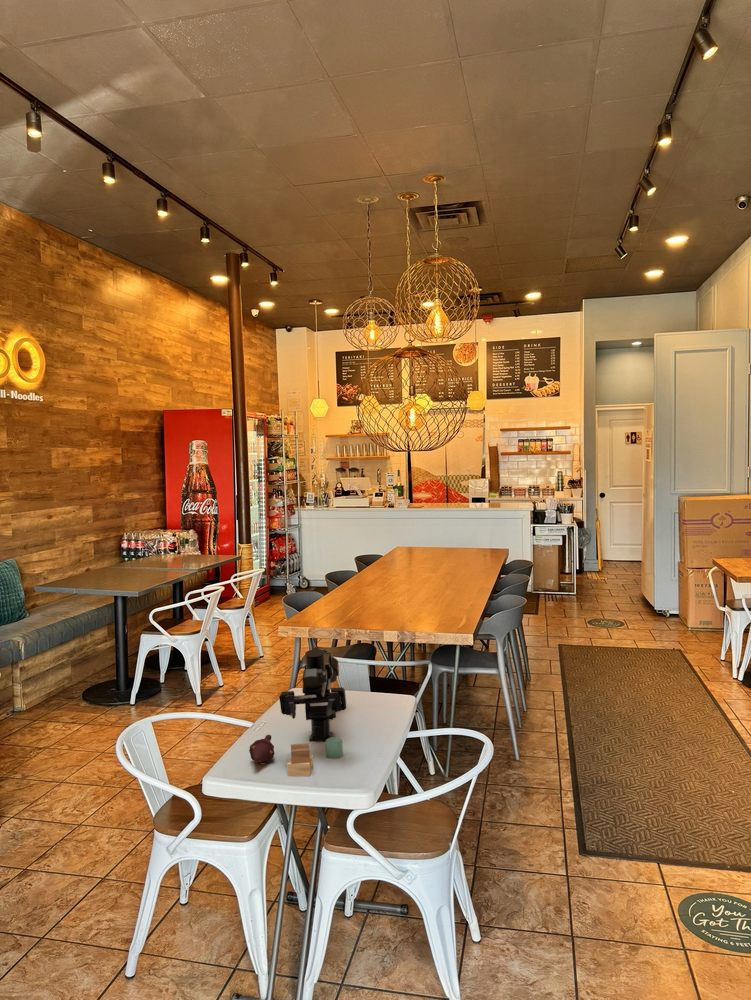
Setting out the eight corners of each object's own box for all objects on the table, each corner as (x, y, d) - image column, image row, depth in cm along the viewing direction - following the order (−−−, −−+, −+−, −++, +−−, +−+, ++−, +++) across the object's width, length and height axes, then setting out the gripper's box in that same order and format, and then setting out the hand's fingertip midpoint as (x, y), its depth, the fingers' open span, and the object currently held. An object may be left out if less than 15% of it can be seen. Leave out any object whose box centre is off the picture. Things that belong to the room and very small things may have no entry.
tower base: (291, 767, 197) (291, 755, 197) (313, 767, 197) (312, 755, 196) (287, 776, 191) (287, 764, 191) (309, 776, 191) (309, 764, 190)
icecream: (271, 750, 193) (282, 735, 208) (245, 743, 193) (259, 728, 208) (265, 775, 193) (277, 758, 207) (239, 768, 193) (253, 751, 208)
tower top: (291, 756, 196) (290, 744, 196) (309, 755, 196) (308, 743, 196) (291, 764, 191) (291, 751, 191) (309, 762, 191) (309, 749, 191)
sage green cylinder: (327, 752, 207) (326, 737, 207) (343, 752, 206) (343, 737, 206) (325, 758, 202) (324, 743, 202) (341, 758, 202) (341, 743, 201)
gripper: (281, 665, 207) (272, 691, 191) (344, 661, 206) (340, 686, 191) (285, 700, 209) (277, 728, 194) (347, 695, 208) (344, 723, 193)
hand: (309, 715), depth 193 cm, fingers open, 9 cm apart
